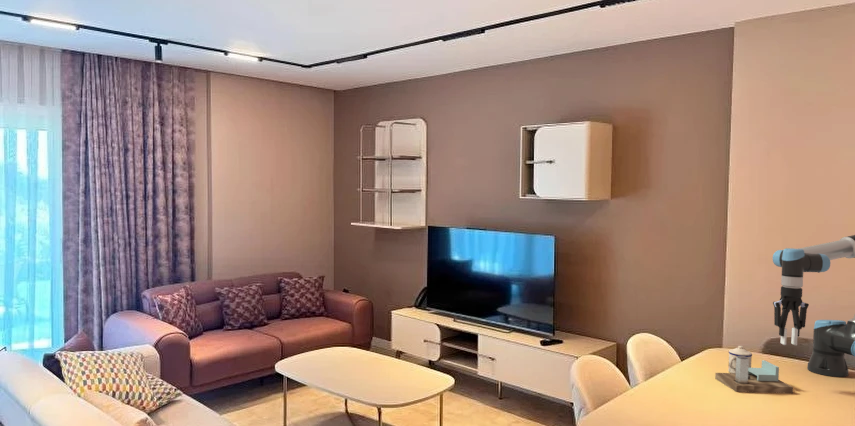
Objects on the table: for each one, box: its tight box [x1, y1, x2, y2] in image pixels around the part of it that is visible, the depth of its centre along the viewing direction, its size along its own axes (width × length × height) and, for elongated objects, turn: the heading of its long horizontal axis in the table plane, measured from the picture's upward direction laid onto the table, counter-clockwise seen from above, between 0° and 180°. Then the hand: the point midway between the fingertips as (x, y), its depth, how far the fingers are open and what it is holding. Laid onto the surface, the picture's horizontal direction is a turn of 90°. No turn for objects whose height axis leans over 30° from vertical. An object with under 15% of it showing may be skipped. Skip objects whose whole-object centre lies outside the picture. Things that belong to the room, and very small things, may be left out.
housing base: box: [714, 372, 794, 395], centre depth 244 cm, size 22×17×4 cm
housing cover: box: [748, 359, 780, 381], centre depth 247 cm, size 8×10×6 cm
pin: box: [735, 356, 749, 384], centre depth 240 cm, size 3×3×13 cm
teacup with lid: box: [727, 345, 753, 373], centre depth 261 cm, size 12×9×12 cm
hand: (788, 344), depth 247 cm, fingers open, 4 cm apart
